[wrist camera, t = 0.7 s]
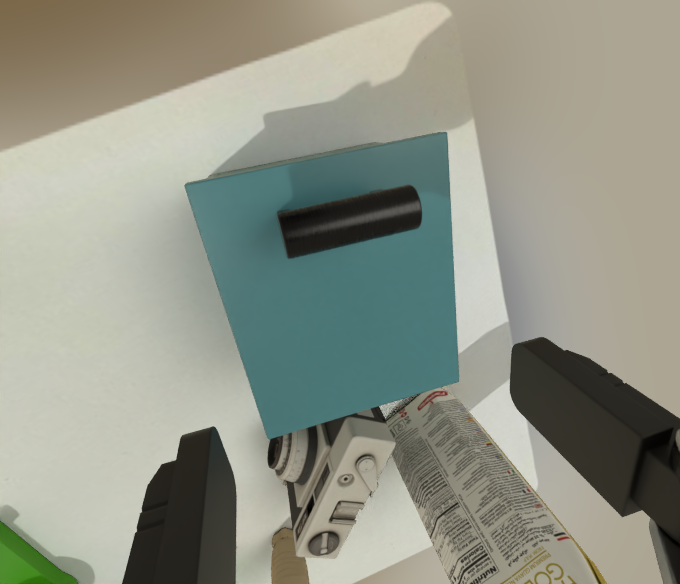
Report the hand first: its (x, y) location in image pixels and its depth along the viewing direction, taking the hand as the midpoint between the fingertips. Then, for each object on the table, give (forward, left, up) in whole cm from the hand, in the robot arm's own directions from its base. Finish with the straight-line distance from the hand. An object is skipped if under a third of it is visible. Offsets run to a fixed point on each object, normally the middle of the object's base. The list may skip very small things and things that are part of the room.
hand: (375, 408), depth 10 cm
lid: (+3, +2, -13) cm, 14 cm away
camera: (+22, -1, -25) cm, 33 cm away
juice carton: (+25, +12, -25) cm, 38 cm away
